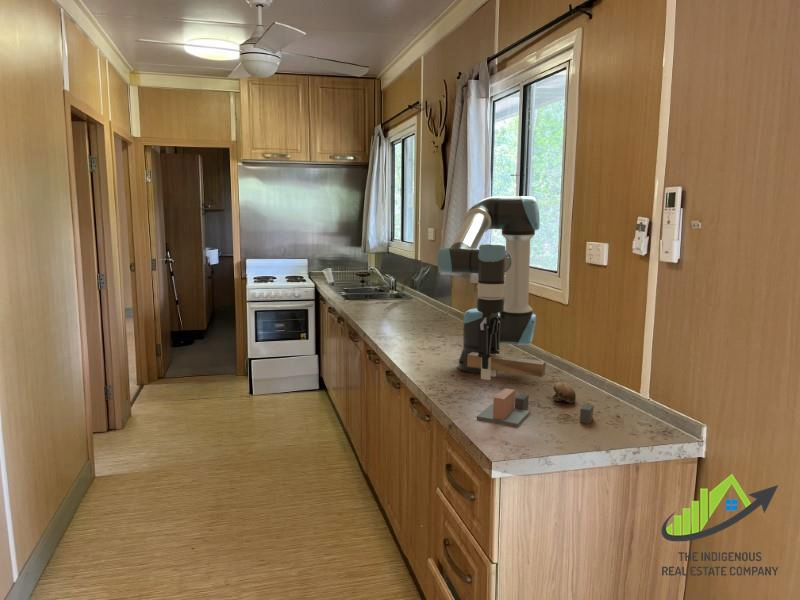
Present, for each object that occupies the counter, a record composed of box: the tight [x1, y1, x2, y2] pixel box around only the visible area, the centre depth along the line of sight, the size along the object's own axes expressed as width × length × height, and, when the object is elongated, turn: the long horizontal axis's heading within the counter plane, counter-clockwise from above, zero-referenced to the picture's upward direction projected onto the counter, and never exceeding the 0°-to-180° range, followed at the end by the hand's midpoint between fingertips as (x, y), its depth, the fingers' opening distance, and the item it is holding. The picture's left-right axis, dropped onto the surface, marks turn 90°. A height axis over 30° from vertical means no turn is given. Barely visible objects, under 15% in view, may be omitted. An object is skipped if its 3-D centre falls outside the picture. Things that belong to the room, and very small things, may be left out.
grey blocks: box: [514, 393, 594, 425], centre depth 166 cm, size 5×22×4 cm, turn 61°
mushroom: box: [551, 381, 577, 404], centre depth 178 cm, size 8×8×6 cm
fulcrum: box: [476, 387, 531, 428], centre depth 164 cm, size 12×12×7 cm
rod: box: [467, 352, 547, 378], centre depth 162 cm, size 4×22×4 cm, turn 61°
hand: (488, 377), depth 165 cm, fingers closed on rod, 4 cm apart
